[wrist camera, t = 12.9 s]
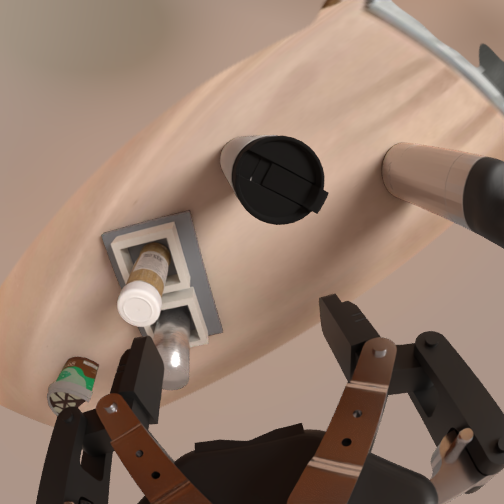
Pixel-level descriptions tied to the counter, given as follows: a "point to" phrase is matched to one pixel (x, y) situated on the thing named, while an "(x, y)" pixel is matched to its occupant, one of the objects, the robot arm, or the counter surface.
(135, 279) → the sprinkles bottle
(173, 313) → the cylinder
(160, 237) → the grey and white holder
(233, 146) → the travel mug
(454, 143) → the counter surface
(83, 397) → the food container
